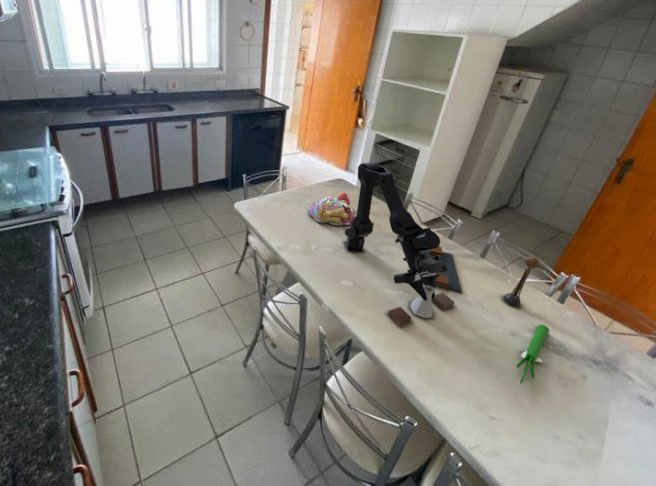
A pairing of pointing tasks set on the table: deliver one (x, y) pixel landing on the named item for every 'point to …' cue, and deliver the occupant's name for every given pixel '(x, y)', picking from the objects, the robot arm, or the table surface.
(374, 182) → the robot arm
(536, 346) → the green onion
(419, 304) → the flask
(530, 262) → the wooden tabletop sculpture
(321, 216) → the multicoloured lumpy mound
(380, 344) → the table surface
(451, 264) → the right mat
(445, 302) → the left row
